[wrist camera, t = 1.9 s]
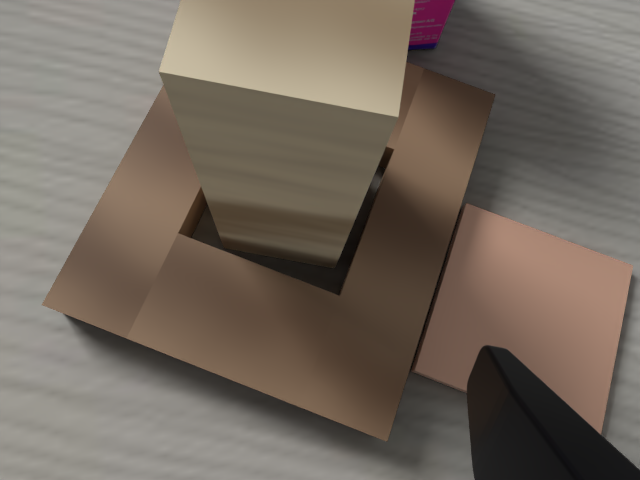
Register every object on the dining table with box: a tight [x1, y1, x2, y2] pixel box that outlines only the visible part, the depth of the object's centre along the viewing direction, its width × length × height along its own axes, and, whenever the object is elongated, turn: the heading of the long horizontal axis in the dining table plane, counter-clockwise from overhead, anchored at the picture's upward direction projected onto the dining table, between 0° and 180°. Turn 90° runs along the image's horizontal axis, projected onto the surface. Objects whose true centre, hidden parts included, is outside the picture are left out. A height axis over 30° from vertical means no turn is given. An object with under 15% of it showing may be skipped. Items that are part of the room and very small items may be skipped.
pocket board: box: [42, 62, 495, 442], centre depth 23 cm, size 16×14×2 cm
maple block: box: [159, 0, 415, 268], centre depth 18 cm, size 5×5×13 cm
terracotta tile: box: [411, 203, 633, 434], centre depth 23 cm, size 8×8×1 cm
